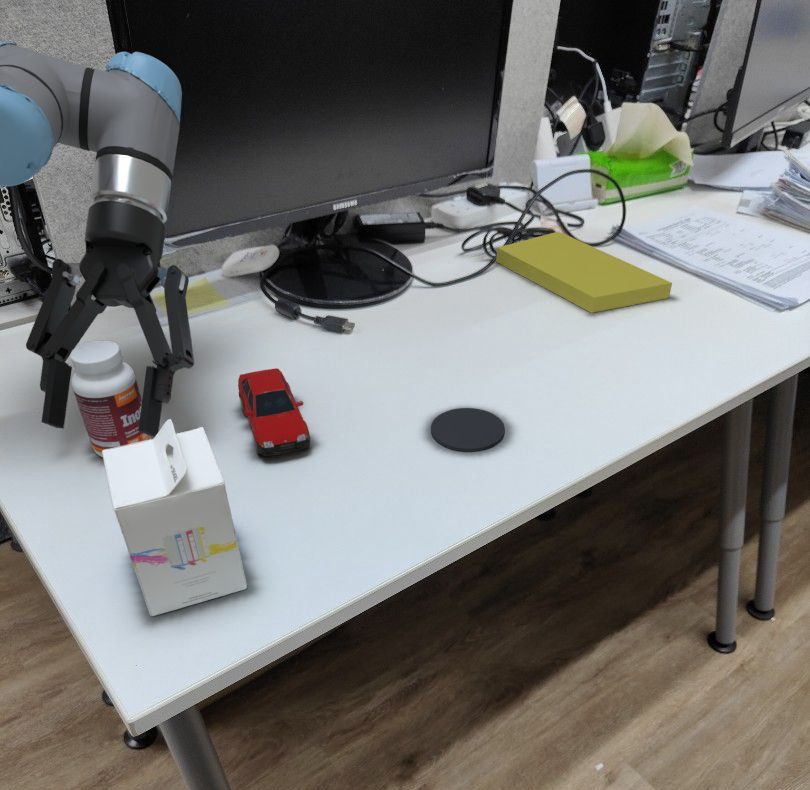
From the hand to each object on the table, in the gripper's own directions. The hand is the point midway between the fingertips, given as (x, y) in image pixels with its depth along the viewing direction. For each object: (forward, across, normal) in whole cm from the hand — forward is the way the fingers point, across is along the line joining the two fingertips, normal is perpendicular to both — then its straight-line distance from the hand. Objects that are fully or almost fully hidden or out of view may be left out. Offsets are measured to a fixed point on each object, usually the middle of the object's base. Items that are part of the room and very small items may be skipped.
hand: (100, 429), depth 77 cm
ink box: (+13, -15, +7) cm, 21 cm away
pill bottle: (+1, 0, -5) cm, 5 cm away
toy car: (-4, -15, -9) cm, 18 cm away
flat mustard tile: (-35, -48, -41) cm, 72 cm away
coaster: (-5, -36, -11) cm, 38 cm away
